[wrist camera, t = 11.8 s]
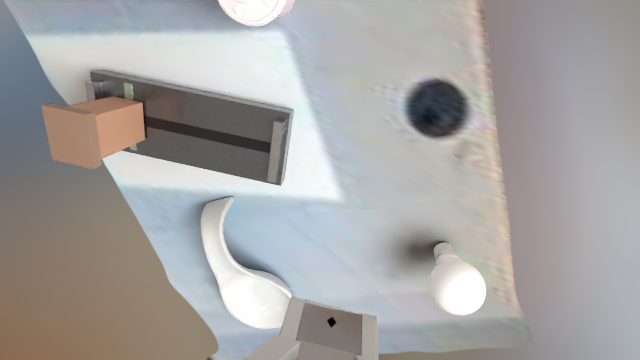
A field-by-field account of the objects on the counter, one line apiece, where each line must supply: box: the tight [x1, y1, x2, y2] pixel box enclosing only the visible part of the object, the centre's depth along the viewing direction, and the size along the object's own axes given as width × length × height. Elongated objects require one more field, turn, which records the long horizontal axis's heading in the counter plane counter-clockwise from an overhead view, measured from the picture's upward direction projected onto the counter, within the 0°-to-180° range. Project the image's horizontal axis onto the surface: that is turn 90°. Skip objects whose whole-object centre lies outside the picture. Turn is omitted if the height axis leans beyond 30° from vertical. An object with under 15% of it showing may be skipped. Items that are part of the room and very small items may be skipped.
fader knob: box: [41, 96, 145, 169], centre depth 37 cm, size 5×6×9 cm
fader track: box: [86, 70, 294, 186], centre depth 41 cm, size 26×10×4 cm, turn 80°
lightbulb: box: [428, 243, 486, 315], centre depth 40 cm, size 6×6×11 cm
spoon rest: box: [200, 197, 293, 329], centre depth 48 cm, size 24×12×7 cm, turn 20°
